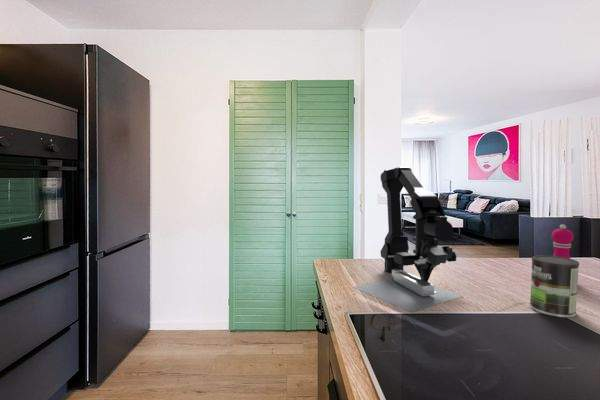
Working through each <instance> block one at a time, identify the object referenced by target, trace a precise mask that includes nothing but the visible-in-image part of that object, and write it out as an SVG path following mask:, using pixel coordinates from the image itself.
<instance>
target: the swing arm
mask: <svg viewBox="0 0 600 400" xmlns="http://www.w3.org/2000/svg"><path fill="white" fill-rule="evenodd" d="M391 278H392V279H393V280H394V281H396V282H397V283H399V284H401V285H403V286H405V287H406V288H408V289H410V290H412V291H414V292H416V293H417V294H419V295H421V296H430V295H434V286H435V284H432V283H431V282H430V281H428V282H427V281H425V280H422V279H421V277H418V276H417V275H413V274H412V273H409V272H407V271H405V270H403V271H402V270H400V269H393V270H392V273H391Z"/></svg>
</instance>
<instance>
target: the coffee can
mask: <svg viewBox="0 0 600 400" xmlns="http://www.w3.org/2000/svg"><path fill="white" fill-rule="evenodd" d="M579 266H580V262H579V261H578V260H575V259H573V258H570V259H569V258H564V257H558V256H553V255H545V254H543V255H542V254H541V255H539V254H537V255H533V256H532V257H531V278H530V279H531V280H530V281H531V282H530V301H529V302H530V303H529V307H530V308H531V309H532V310H534V311H536V312H537V313H540V314H544V315H547V316H551V317H557V318H574V317H575V316H577V299H578V298H577V297H578V283H579Z"/></svg>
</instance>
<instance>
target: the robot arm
mask: <svg viewBox="0 0 600 400" xmlns="http://www.w3.org/2000/svg"><path fill="white" fill-rule="evenodd" d="M380 182H381V188H382V189H383V190H384V192H385V193H386V201H387V204H386V205H387V222H388V233H387V234H386V236H385V238H384V243H383V246H382V248H381V250H380V258H382V259H384V271H385V272H387V273H389V274H392V270H393V269H400V270H402V271H404V266H405V267H406V266H413V265H414V267H415V269H416V270H417V272H418V275H419V276H420V277H419V278H420V279H422V280H425V281H427V282H429V280H430V278H431V275H432V272H433V270H434V269H435V267H437V266H439V265H440V264H447V262H448V263H450V262H457V254H456V252H455V251H453V247H452V246H451V245H444V246H441V245H439V241H442V242H445V241H448V240H450V239H451V238H452V236H453V234H454V227H453V225H452V224H451V222H450V221H448V216H446V214H445V210H444V208H443V207H442V203H441V202H440V199H439V197H438V196H437V195H436V194H435V193H434V192H433V191H431V190H428V189H426V188H424V186H423V185H422V184H421V182H420V181H419V180H418V178H417V177H416V176H415V174H414V173H413V171H412V168H411V167H409V166H397V167H395V168H392V169H384V170H383V172H381V174H380ZM403 188H404V189H405V191H406V193H408V195H409V197H410V198H411V199H410V203H409V204H410V206H411V208H412V210H413V212H414V213H415V215H413V216H412V219H413V220H415V236H413V237H412V240H413V241H415V242H414V243H415V245H414V246H415V249H413V250H412V253H413V254H411V253H409V249H410V247H409V238H408V236H407V235H405V234H404V232H403V227H402V225H403V224H402V223H403V222H402V203H401V192H402V190H403Z"/></svg>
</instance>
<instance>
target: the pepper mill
mask: <svg viewBox="0 0 600 400" xmlns="http://www.w3.org/2000/svg"><path fill="white" fill-rule="evenodd" d="M551 239H552V240H553V245H552V247H553V249H554V251H553V255H552V256H558V257H564V258H569V259H571V256H570V248H571V249H572V243H571V242H572V241H574V233H573V232H572V231H571V230H570V229H567V226H566V225H565V224H564V223H563V224H560V225H559V228H557V229H554V230H553V231H552V233H551Z"/></svg>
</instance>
